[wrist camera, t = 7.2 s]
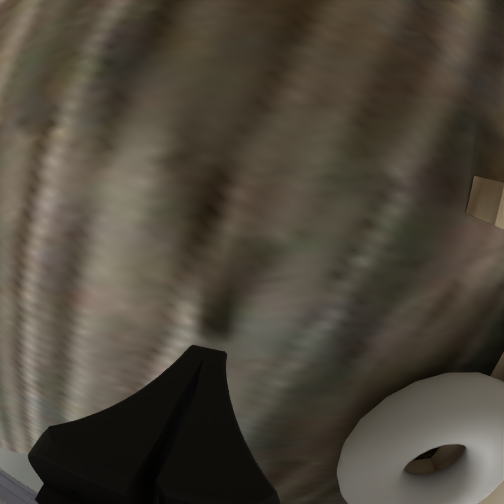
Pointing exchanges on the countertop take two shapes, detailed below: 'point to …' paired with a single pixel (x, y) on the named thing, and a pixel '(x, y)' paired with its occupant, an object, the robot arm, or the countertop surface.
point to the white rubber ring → (427, 443)
